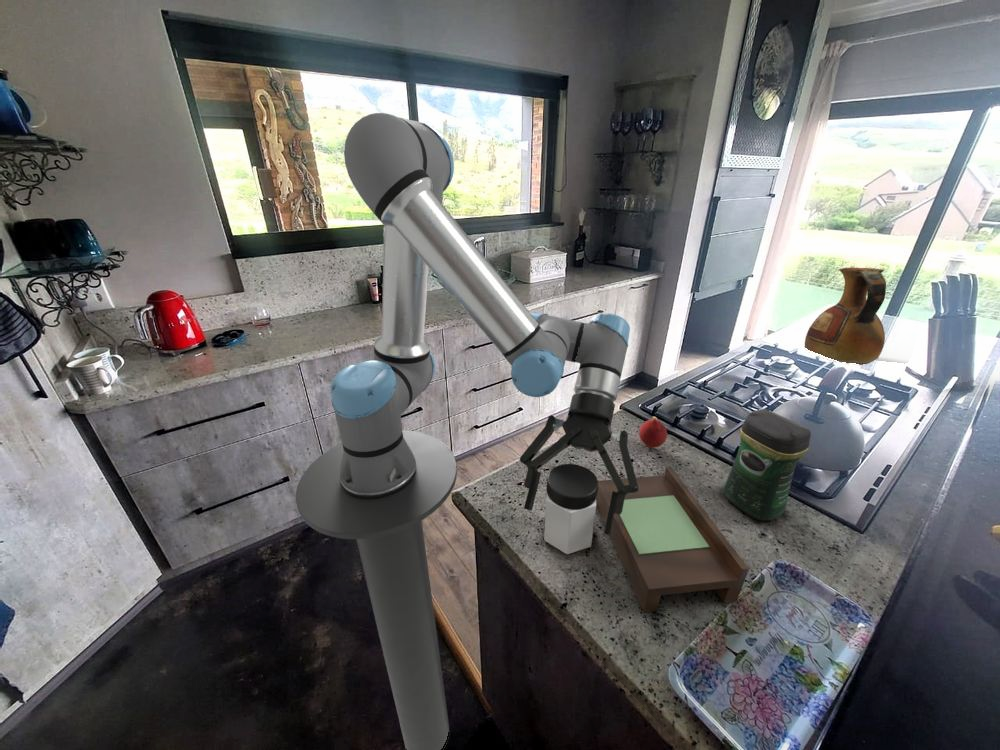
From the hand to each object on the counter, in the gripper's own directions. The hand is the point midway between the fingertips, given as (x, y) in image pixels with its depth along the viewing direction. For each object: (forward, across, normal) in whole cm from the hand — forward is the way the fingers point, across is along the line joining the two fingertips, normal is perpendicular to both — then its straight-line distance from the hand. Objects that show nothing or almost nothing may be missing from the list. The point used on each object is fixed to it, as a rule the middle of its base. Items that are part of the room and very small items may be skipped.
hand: (565, 521), depth 65 cm
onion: (-20, -11, -28) cm, 36 cm away
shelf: (-1, -14, -8) cm, 16 cm away
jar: (+2, 0, -5) cm, 6 cm away
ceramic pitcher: (-73, -62, -80) cm, 125 cm away
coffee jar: (-12, -30, -20) cm, 38 cm away
